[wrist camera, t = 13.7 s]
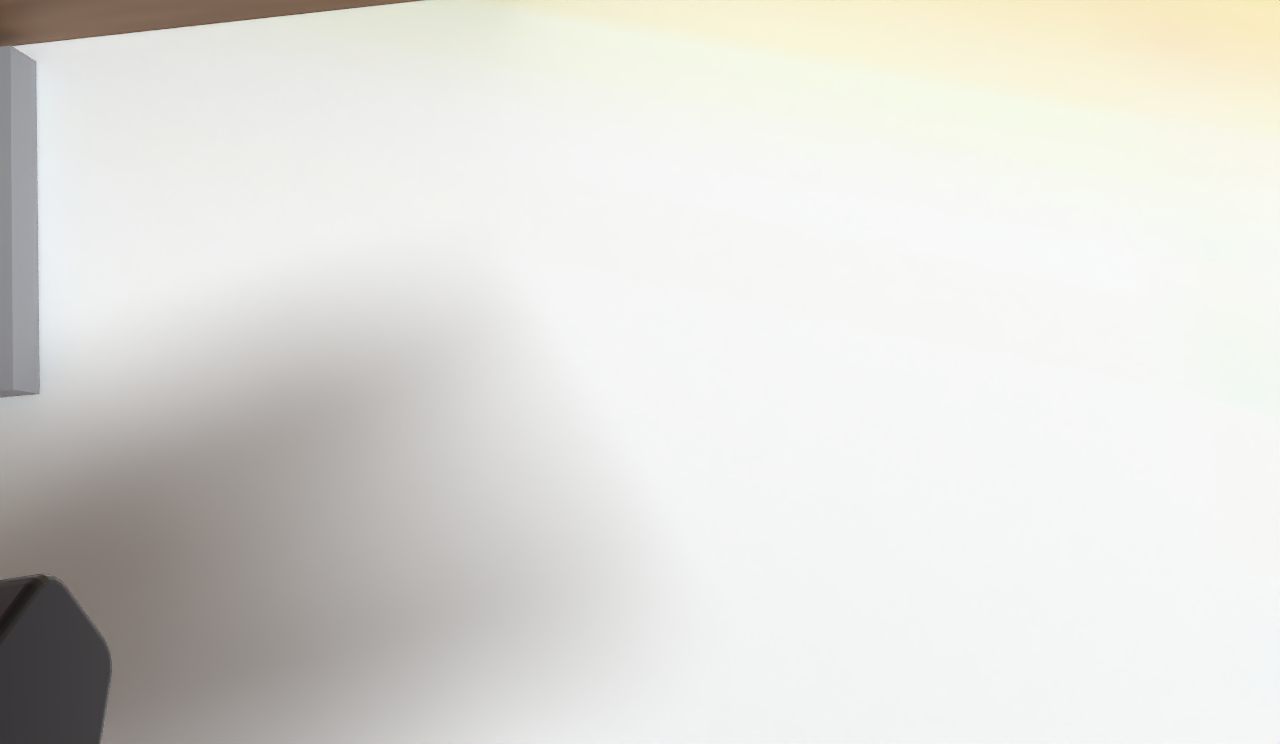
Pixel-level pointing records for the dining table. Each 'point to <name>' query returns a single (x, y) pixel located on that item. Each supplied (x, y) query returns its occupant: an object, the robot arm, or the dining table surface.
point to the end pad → (18, 226)
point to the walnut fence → (140, 15)
